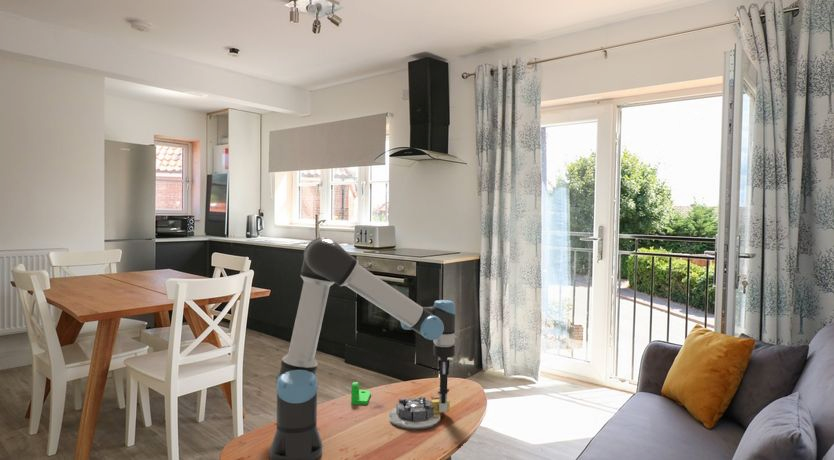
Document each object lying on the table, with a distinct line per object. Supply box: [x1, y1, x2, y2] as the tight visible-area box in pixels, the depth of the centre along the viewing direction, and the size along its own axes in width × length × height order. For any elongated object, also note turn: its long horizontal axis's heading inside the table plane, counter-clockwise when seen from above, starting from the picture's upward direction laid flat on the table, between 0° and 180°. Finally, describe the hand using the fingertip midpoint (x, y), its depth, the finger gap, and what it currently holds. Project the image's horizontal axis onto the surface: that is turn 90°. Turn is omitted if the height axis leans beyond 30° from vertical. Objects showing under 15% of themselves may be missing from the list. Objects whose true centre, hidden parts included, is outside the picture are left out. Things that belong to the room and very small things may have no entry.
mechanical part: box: [350, 381, 372, 406], centre depth 188 cm, size 12×6×8 cm, turn 177°
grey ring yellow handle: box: [395, 396, 451, 421], centre depth 171 cm, size 19×12×4 cm, turn 105°
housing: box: [388, 393, 441, 431], centre depth 171 cm, size 21×18×6 cm
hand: (443, 411), depth 171 cm, fingers closed
